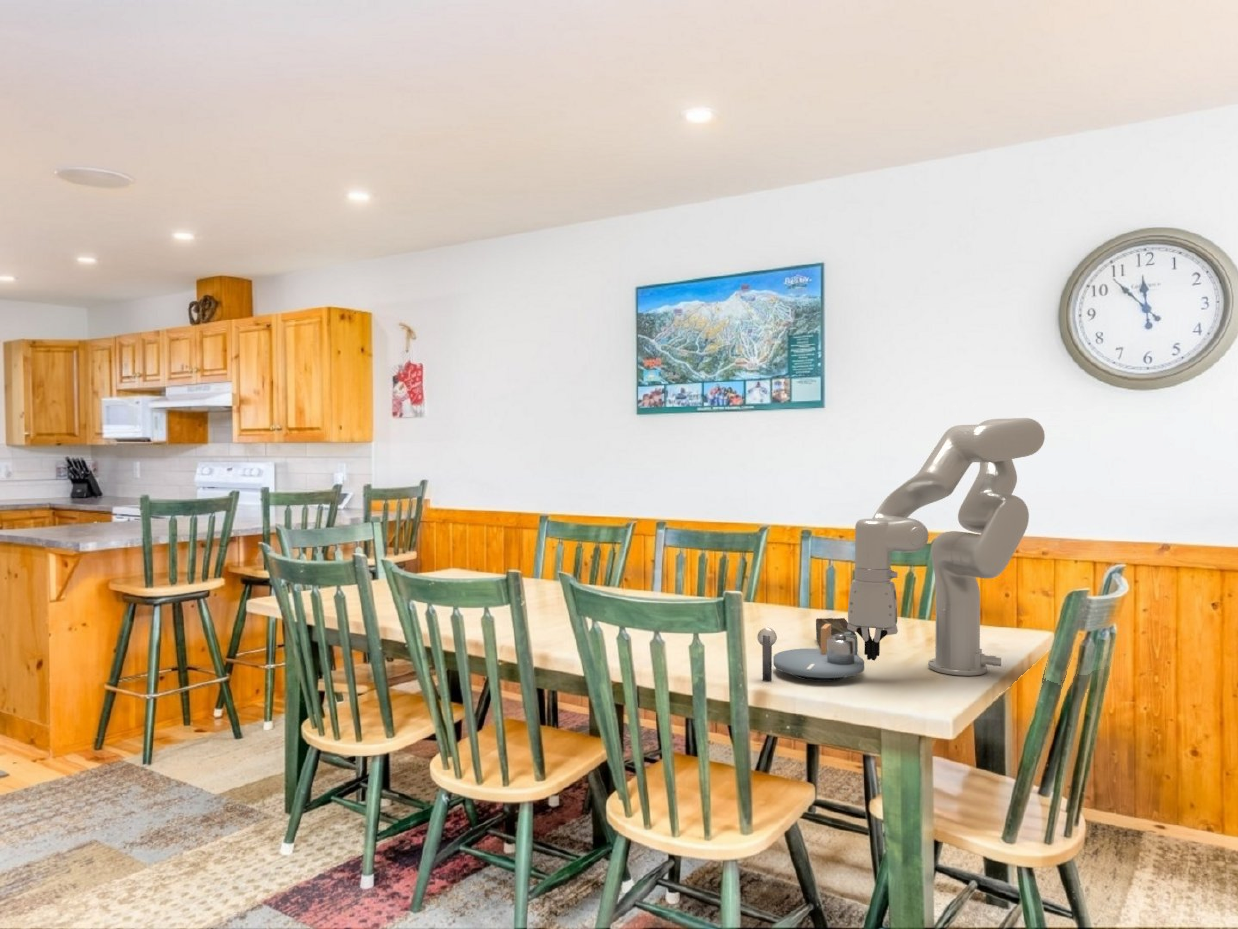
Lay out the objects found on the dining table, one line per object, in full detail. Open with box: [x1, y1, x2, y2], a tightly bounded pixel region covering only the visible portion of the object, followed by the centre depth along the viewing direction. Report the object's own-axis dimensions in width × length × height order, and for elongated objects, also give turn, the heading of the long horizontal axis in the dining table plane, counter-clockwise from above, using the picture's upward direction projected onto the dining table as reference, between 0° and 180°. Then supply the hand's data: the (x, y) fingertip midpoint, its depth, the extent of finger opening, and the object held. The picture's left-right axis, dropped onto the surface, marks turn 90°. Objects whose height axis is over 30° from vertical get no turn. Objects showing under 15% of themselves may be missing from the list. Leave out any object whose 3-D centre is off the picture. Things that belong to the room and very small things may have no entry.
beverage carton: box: [815, 617, 859, 656], centre depth 219 cm, size 8×19×7 cm, turn 174°
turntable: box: [772, 624, 865, 678], centre depth 196 cm, size 20×20×8 cm
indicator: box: [757, 627, 778, 682], centre depth 190 cm, size 4×2×12 cm, turn 64°
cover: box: [827, 634, 855, 665], centre depth 193 cm, size 6×6×6 cm
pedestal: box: [792, 674, 845, 682], centre depth 195 cm, size 12×12×2 cm
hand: (872, 658), depth 190 cm, fingers closed
